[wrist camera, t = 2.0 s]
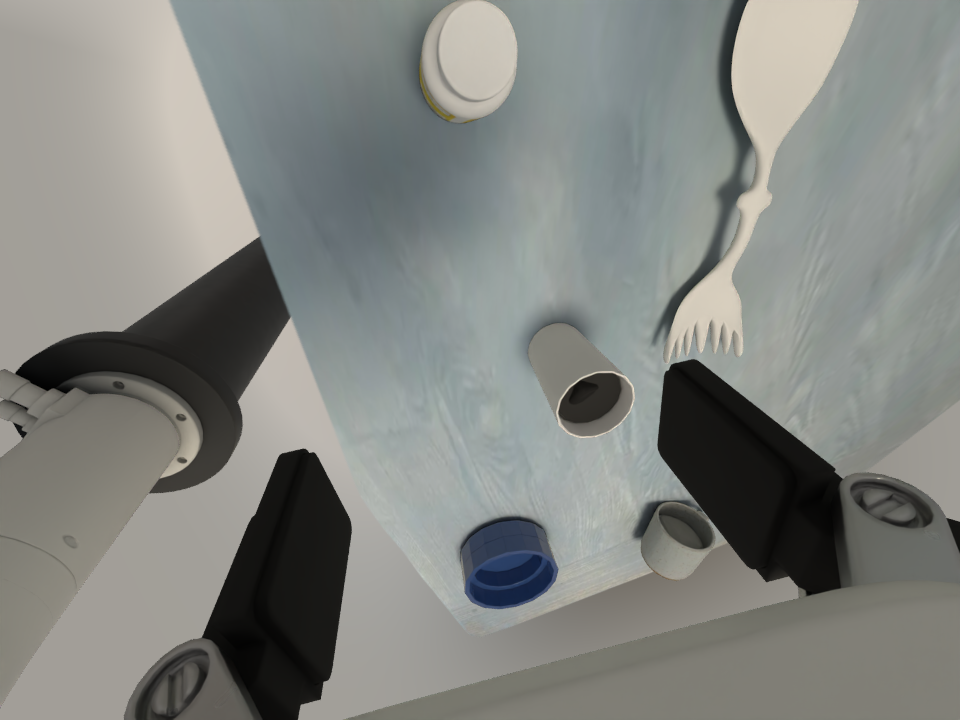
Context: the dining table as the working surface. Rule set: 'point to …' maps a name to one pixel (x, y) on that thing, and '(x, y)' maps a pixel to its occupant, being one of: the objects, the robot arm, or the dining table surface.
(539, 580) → the bowl
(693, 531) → the ceramic mug
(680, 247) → the dining table surface
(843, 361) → the dining table surface
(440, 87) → the supplement bottle
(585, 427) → the white cylindrical cup
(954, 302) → the dining table surface
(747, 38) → the cream back scratcher
